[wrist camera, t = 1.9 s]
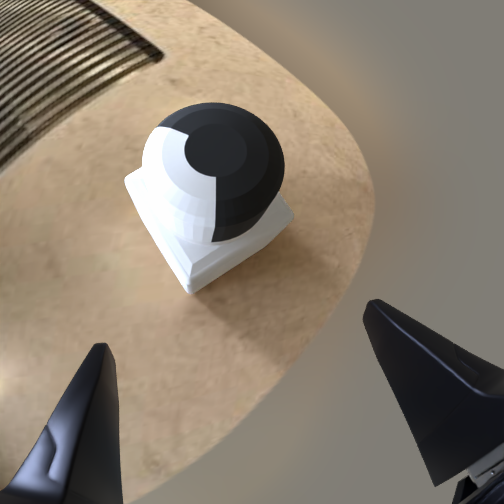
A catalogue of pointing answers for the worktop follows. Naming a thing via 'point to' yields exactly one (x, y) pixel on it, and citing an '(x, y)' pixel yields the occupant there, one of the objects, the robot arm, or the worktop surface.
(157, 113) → the worktop surface
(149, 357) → the worktop surface
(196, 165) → the medicine bottle
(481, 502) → the robot arm
